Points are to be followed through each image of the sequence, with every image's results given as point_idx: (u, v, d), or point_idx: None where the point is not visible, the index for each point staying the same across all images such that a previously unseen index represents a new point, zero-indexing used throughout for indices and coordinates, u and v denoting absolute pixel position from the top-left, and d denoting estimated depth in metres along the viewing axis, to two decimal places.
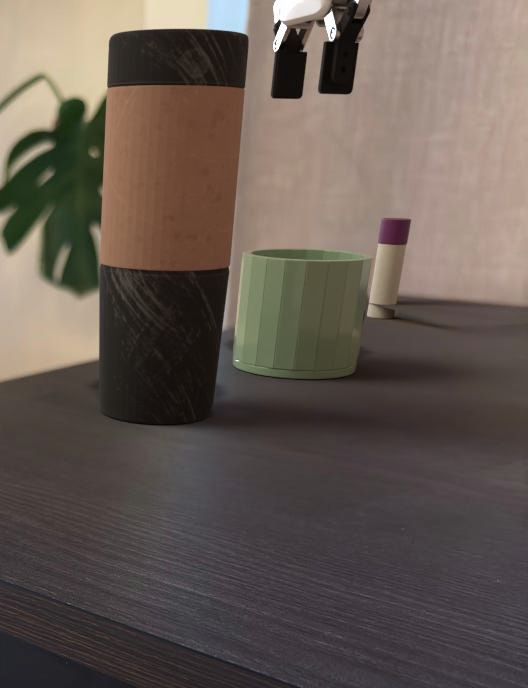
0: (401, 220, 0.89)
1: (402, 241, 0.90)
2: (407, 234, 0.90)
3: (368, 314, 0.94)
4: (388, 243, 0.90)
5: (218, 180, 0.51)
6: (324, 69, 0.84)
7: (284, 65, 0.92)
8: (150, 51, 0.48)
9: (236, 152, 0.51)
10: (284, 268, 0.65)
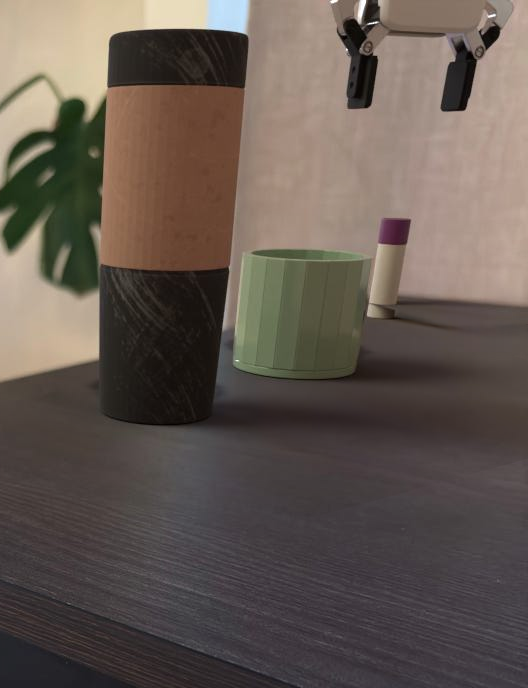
0: (401, 220, 0.89)
1: (402, 241, 0.90)
2: (407, 234, 0.90)
3: (368, 314, 0.94)
4: (388, 243, 0.90)
5: (218, 180, 0.51)
6: (469, 87, 0.86)
7: None
8: (150, 51, 0.48)
9: (236, 152, 0.51)
10: (284, 268, 0.65)
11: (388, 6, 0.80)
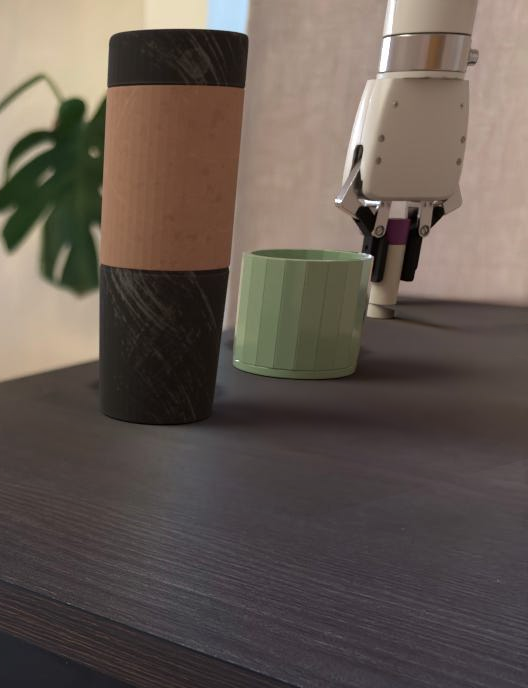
0: (401, 220, 0.89)
1: (402, 241, 0.90)
2: (407, 234, 0.90)
3: (368, 314, 0.94)
4: None
5: (218, 180, 0.51)
6: (415, 261, 0.91)
7: None
8: (150, 51, 0.48)
9: (236, 152, 0.51)
10: (284, 268, 0.65)
11: (370, 181, 0.86)
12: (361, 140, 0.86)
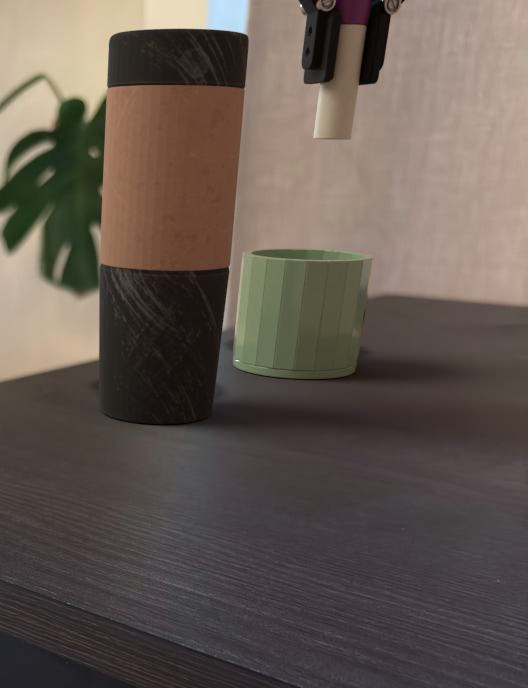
0: None
1: (360, 19, 0.63)
2: (367, 9, 0.63)
3: (315, 135, 0.67)
4: None
5: (218, 180, 0.51)
6: (380, 51, 0.64)
7: None
8: (150, 51, 0.48)
9: (236, 152, 0.51)
10: (284, 268, 0.65)
11: None
12: None
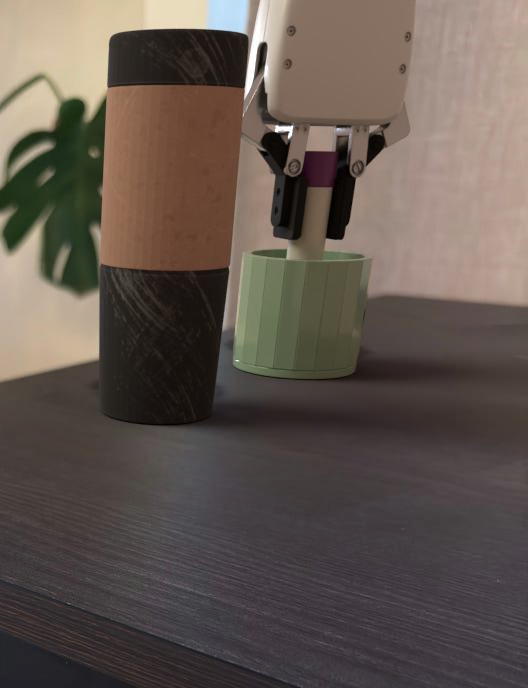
0: (324, 152, 0.64)
1: (326, 182, 0.65)
2: (333, 172, 0.65)
3: None
4: None
5: (218, 180, 0.51)
6: None
7: None
8: (150, 51, 0.48)
9: (236, 152, 0.51)
10: (284, 268, 0.65)
11: (277, 94, 0.61)
12: (265, 36, 0.61)
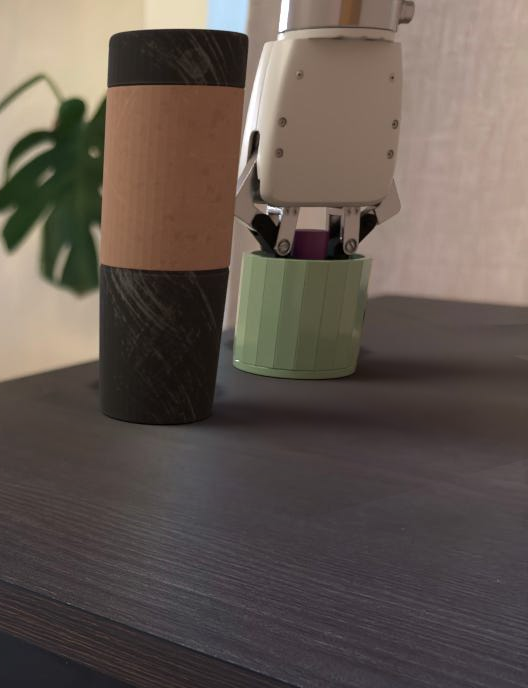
0: (315, 232, 0.67)
1: None
2: (324, 251, 0.68)
3: None
4: None
5: (218, 180, 0.51)
6: None
7: None
8: (150, 51, 0.48)
9: (236, 152, 0.51)
10: (284, 268, 0.65)
11: (269, 180, 0.64)
12: (257, 125, 0.64)
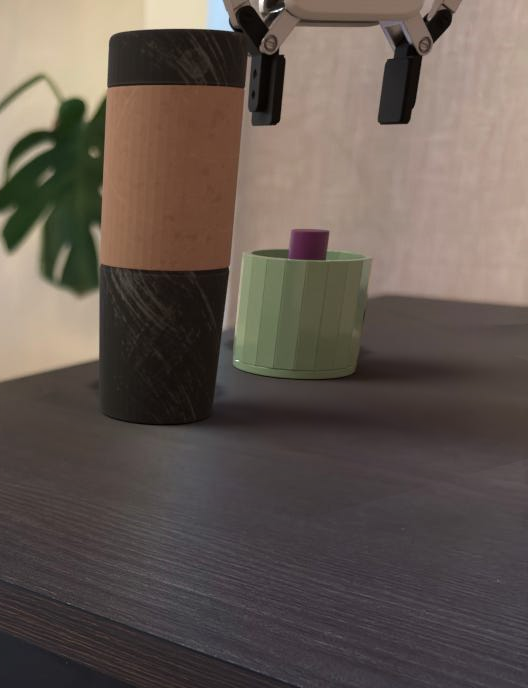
0: (315, 232, 0.67)
1: None
2: (324, 251, 0.68)
3: None
4: None
5: (218, 180, 0.51)
6: None
7: None
8: (150, 51, 0.48)
9: (236, 152, 0.51)
10: (284, 268, 0.65)
11: None
12: None
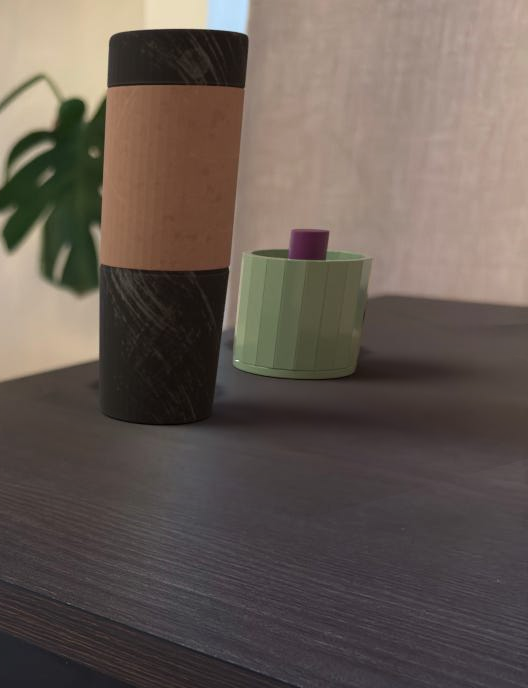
0: (315, 232, 0.67)
1: None
2: (324, 251, 0.68)
3: None
4: None
5: (218, 180, 0.51)
6: None
7: None
8: (150, 51, 0.48)
9: (236, 152, 0.51)
10: (284, 268, 0.65)
11: None
12: None
